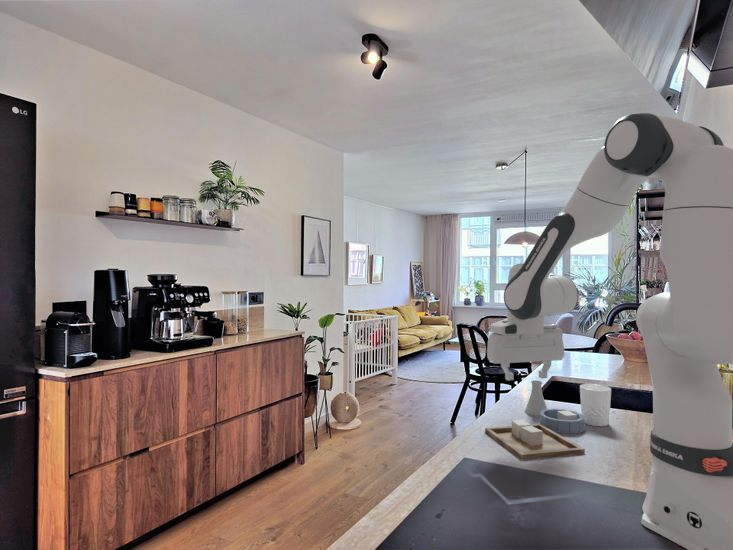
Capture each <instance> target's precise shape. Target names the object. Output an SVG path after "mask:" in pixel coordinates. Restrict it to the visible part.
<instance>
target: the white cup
mask: <svg viewBox="0 0 733 550" xmlns="http://www.w3.org/2000/svg"><path fill="white" fill-rule="evenodd" d="M579 395H580V397H579V398H580V411H581V414H582V415H583V416H584V424H586V425H588V426H589V425H590V426H593V427H607V426H609V424H610V412H611V402H612V401H611V398H612V397H611V396H612V387H610V386H607V385H603V384H596V383H595V384H594V383H584V384H583V383H582V384H580V385H579Z"/></svg>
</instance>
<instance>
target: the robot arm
mask: <svg viewBox="0 0 733 550" xmlns="http://www.w3.org/2000/svg"><path fill="white" fill-rule="evenodd" d="M650 180H653V181H658V182H660V183H663V186H664V202H663V210H662V223H661V232H660V241H659V243H660V244H659V258H660V260H661V261H662V263H663V265H664V268H665V271H666V276H667V282H668V289H669V291H663V292H661V293H657V294H655V295H652V296H650V297H648V298H646V299H645V300H644V301H642V302H641V304H640V305H639V307H638V308H637V311H636V315H635V321H636V322H635V323H636V326H637V328H638V330H639V333H640V335H641V337H642V340H643V345H644V350H645V356H646V361H647V364H648V369H649V370H648V371H649V374H650V378H651V379H650V380H651V386H652V418H653V419H652V420H653V421H652V425H653V426H652V427H653V429H651V431H650V434H649V435H650V438H649V452H650V453H651V454H652V455H651V457H652V460H651V465H650V471H649V475H648V483H647V490H646V493H645V494H646V495H645V498H644V502H643V504H642V512H643V513H642V515H641V521H640V522H641V524H642V526H644V527H645V528H648V529H649V530H651V531H653V532H655V533H656V534H658V535H661V536H662V537H664V538H666V539H668V540H670V541H672V542H674V543H675V544H677V545H679V546H681V547H683V548H685V549H686V550H733V397H732V395H731V393H730V391H729V389H728V388H727V386H726V384H725V383H724V380H723V378H722V375H721V373H720V370H719V367H718V365H733V148H730V147H727V146H725V145H724V141H722V139H721V137H720V135H718V134H717V133H715V132H714V131H713V130H710V129H709V128H707V127H705V126H702V125H701V126H700V125H696V124H693V123H690V122H687V121H684V120H682V119H680V118H677V117H671V116H665V115H655V114H653V113H649V112H635V113H631V114H627V115H623V116H622V117H621V118H619V119H618V120H616V122H615V123H613V124H612V126H611V128H610V129H609V131H608V132H607V134H606V136H605V140H604V143H603V146H602V147H601V148H599V150H598V151H597V152H596V154H595V155H594V156H593V158H592V160H591V161H590V162H589V164H588V166H587V167H586V169H585V171H584V172H583V174H582V176H581V178H580V179H579V181H578V184H577V186H576V188H575V190H574V192H573V194H572V196H571V197H570V198H569V200H568V201H567V203H566V204H565V206H564V207H563V208H562V210H560V211H559V213H558V214H556V215H555V216H554V217H553V218H552V219H551V220H550V221H549V222H548V223H547V225H546V227H545V228H544V229H543V231H542V233H541V235H539V237H538V239H537V241H536V242H535V244H534V245H533V247H532V249H531V250H530V253H529V254H528V256H527V257H526V259H525V261H524V262H522V263H518V264H514V265H513V266H512V267H510V269H509V274H508V279H507V284H506V286H505V289H504V292H503V301H504V306H505V307H506V308H507V317H506V318H504V319H501V320H499V321H495V322H493V323H491V324H490V325H489V331H490V332H491V333H490V335H489V336H488V340H487V348H486V355H487V360H488V361H489V362H491V363H492V364H495V365H497V364H500V367H501V369H502V371H503V372H504V379H505V380H506V381H514V379H515V378H514V376H515V374H514V373H513V372H511V371H510V369H509V368H510V365H511V364H517V363H532V362H533V363H534V362H535V363H537V362H541V363H542V364H543V366H542V367H541V369H540V370H538V378H540V379H547V378H548V372H549V370H550V368H551V367H552V362H553V361H554V362H555V361H563V359H564V357H565V356H566V355H565V345H564V340H563V335H564V334H563V329H562V328H561V326H559V325H557V324H555V323H554V324H545V317H552V316H562V315H565V314H569V313H571V312H572V311H574V310H575V308H576V306H577V304H578V302H579V291H578V288H577V285H576V284H575V282H574V281H573V280H572V279H571V278H570V277H567V276H563V275H560V274H557V273H554V272H553V270H554V269H555V267H556V266H557V265H558V262H559V261H560V260H561V258H562V257H563V256H564V254H566V252H567V251H569V250H570V249H573V247H575V246H577V245H579V244H581V243H584V242H587V241H589V240H593V239H595V238H599V237H601V236H603V235H606V234H608V233H610V232H612V231H613V230H614V229H615V227H616V226H618V224H619V223H620V222H621V220H622V219H623V217H624V215H625V214H626V212H627V210H628V209H629V207H630V204H631V203H632V201H633V199H634V197H635V195H636V194H637V191H638V189H639V187H640V186H642V184H644V183H645V182H647V181H650Z"/></svg>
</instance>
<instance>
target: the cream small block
mask: <svg viewBox="0 0 733 550" xmlns="http://www.w3.org/2000/svg"><path fill="white" fill-rule="evenodd" d="M531 425H532V424H530V423H528V422H527V421H526V420H524V419H513V420H512V419H511V426H512V433H513V434H514V435H515V436H517V437H518V438H521V427H527V426H531Z"/></svg>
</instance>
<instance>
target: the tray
mask: <svg viewBox="0 0 733 550" xmlns="http://www.w3.org/2000/svg"><path fill="white" fill-rule="evenodd" d="M530 425H531V426H533V427H535V428H537V429H540V430H542V431H543V444H540V445H533V446H531V445H530V444H528V443H526V442H524V441H522V440H521V438H518V437H517V436H515V435H514V434H513V433H512V425H508V426H498V427H485V428H484V433H485V434H487V435H488V436H489V437H491V438H492V439H494V440H495V441H496V442H497V443H499V444H500V445H502V446H503V447H504V448H505V449H507V450H509V452H510V453H512V454H513V455H514V456H515V457H517V458H519V459H520V460H521V461H522V460H531V459H543V458H552V457H553V458H554V457H562V456H563V457H564V456H565V457H566V456H572V455H573V456H574V455H583V454H585V452H586V450H585V449H586V448H584V447H582V446H581V445H579V444H577V443H575V442H573V441H572V440H570V439H568V438H566V437H564V436H562V435H560V434H559V433H558V432H555V431H552V430H550V429H548V428H547V427H545V426H543V425H541V424H540V423H536V424H535V423H534V424H532V423H531V424H530Z"/></svg>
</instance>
